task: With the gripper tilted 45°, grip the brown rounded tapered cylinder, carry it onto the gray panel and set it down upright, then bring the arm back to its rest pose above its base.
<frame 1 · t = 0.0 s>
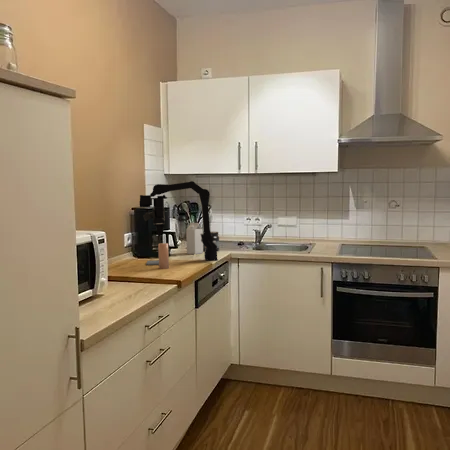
hand: (159, 235, 258), 15 cm above the counter, tool pointing down, fingers open, 9 cm apart
milk carton: (194, 253, 289), on the counter
brown rounded tapered cylinder: (164, 268, 239), on the counter
supplement container: (211, 251, 300), on the counter
gray panel: (157, 263, 254), on the counter
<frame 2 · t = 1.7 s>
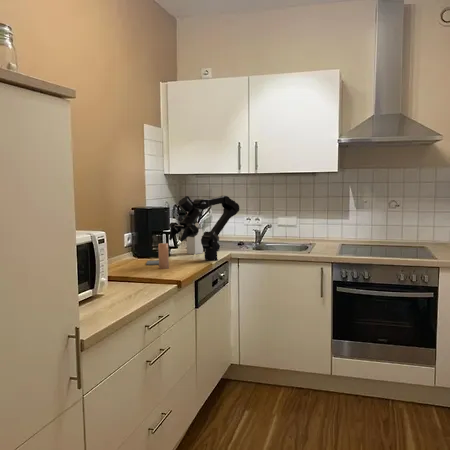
hand: (175, 240, 243), 13 cm above the counter, tool tilted 45°, fingers open, 9 cm apart
nothing on the counter moved.
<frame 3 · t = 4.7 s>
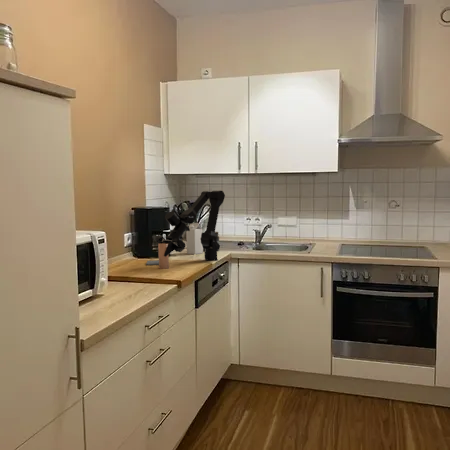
hand: (161, 255, 237), 7 cm above the counter, tool tilted 45°, fingers closed on brown rounded tapered cylinder, 5 cm apart
brown rounded tapered cylinder: (163, 268, 239), on the counter, touching gripper
everything else where it was.
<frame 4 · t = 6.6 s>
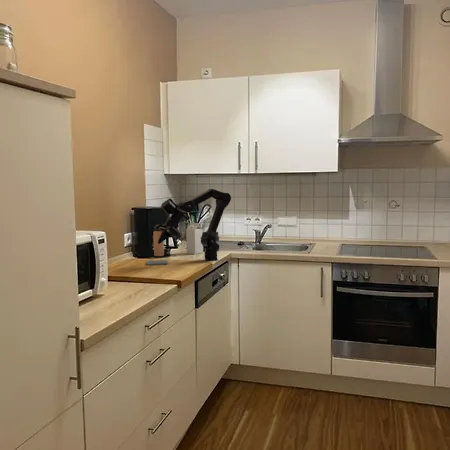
hand: (156, 242, 243), 12 cm above the counter, tool tilted 45°, fingers closed on brown rounded tapered cylinder, 5 cm apart
brown rounded tapered cylinder: (159, 255, 244), point 6 cm above the counter, touching gripper
everything else where it was.
when the fingers open (9 cm above the counter, at t = 8.6 s): brown rounded tapered cylinder drops 1 cm, resting on gray panel.
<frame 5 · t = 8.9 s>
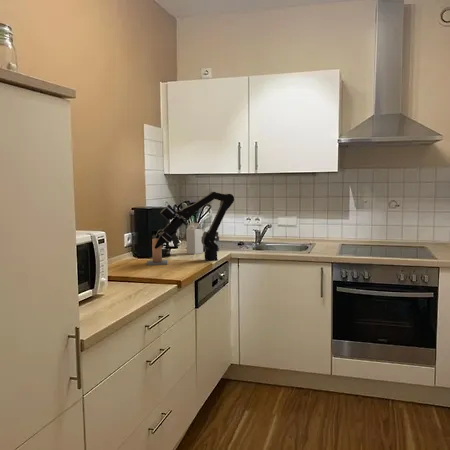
hand: (154, 247, 253), 9 cm above the counter, tool tilted 45°, fingers open, 9 cm apart
brown rounded tapered cylinder: (157, 261, 254), point 1 cm above the counter, touching gray panel
everything else where it was.
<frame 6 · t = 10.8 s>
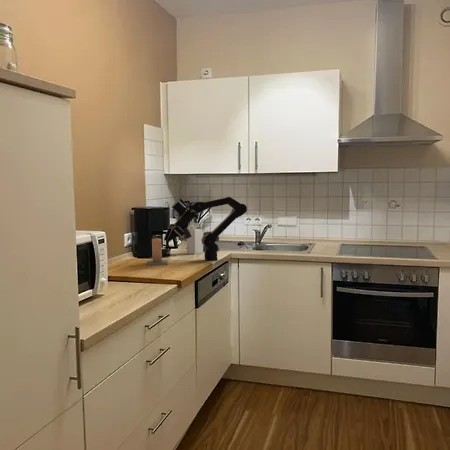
hand: (165, 241, 255), 12 cm above the counter, tool tilted 45°, fingers open, 9 cm apart
nothing on the counter moved.
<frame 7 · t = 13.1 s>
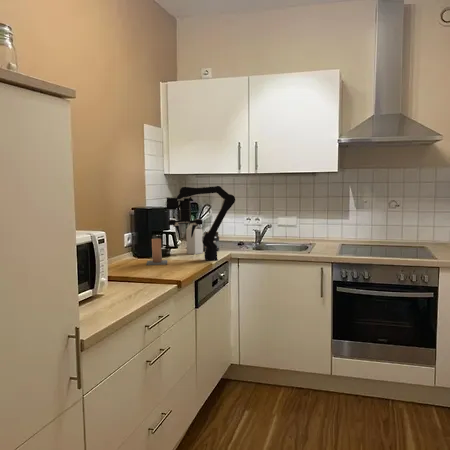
hand: (185, 237, 260), 13 cm above the counter, tool pointing down, fingers open, 6 cm apart
nothing on the counter moved.
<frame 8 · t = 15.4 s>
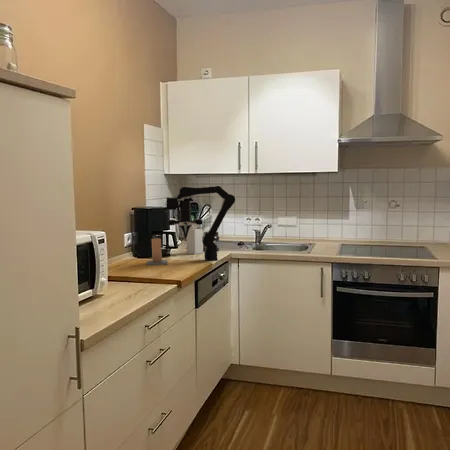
hand: (185, 237, 260), 13 cm above the counter, tool pointing down, fingers closed
nothing on the counter moved.
at the end: brown rounded tapered cylinder inside the target area on the gray panel (0.1 cm from its centre), point 0.8 cm above the gray panel's base; brown rounded tapered cylinder tilted 1°; the gripper is holding nothing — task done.
